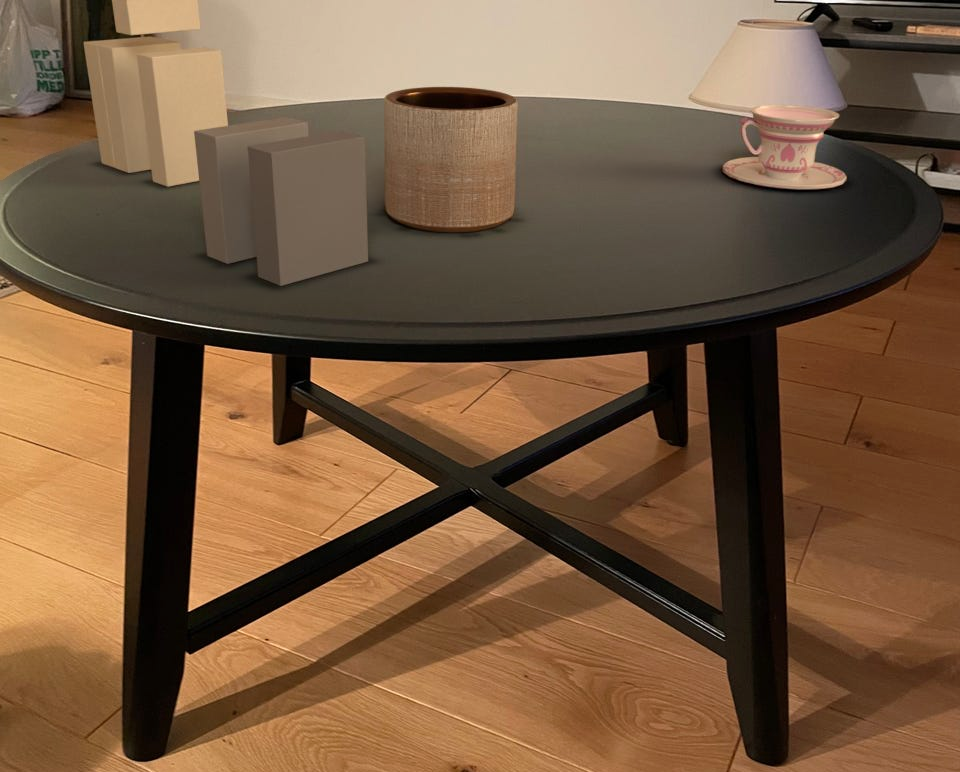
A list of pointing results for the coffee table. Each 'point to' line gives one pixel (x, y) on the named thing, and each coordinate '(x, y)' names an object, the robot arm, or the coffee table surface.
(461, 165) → the planter
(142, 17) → the cream book
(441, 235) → the coffee table surface
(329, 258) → the grey books
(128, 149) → the cream books
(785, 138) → the teacup
